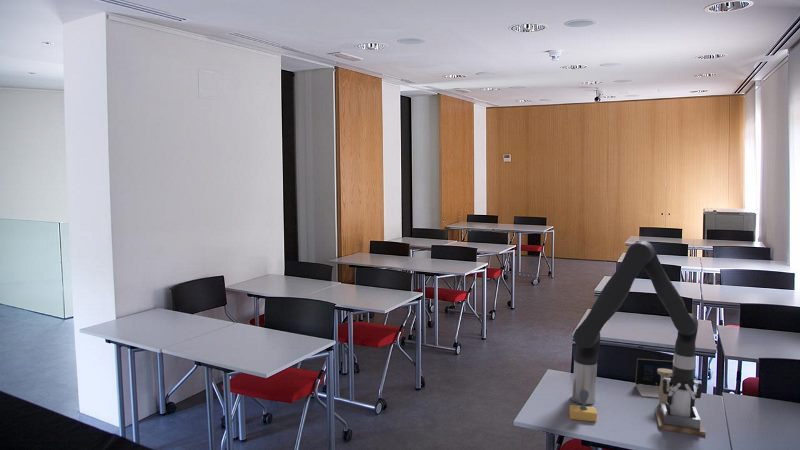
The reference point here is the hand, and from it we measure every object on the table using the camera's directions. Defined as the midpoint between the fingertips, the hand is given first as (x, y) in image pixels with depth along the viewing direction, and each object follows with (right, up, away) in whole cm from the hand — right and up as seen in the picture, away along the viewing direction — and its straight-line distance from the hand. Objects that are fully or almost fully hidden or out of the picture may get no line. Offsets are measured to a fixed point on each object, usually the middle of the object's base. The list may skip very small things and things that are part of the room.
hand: (680, 405), depth 225 cm
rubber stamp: (-36, -7, +6) cm, 37 cm away
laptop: (+6, -4, +31) cm, 31 cm away
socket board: (0, -7, +1) cm, 7 cm away
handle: (+2, -5, +18) cm, 19 cm away
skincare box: (0, -5, +1) cm, 5 cm away
